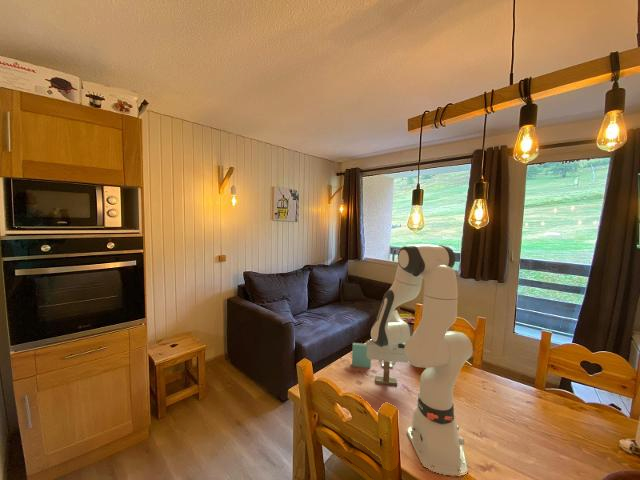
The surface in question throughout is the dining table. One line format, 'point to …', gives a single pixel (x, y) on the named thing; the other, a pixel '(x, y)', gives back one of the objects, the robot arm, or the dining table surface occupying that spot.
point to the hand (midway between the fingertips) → (386, 368)
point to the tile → (360, 356)
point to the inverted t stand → (386, 376)
